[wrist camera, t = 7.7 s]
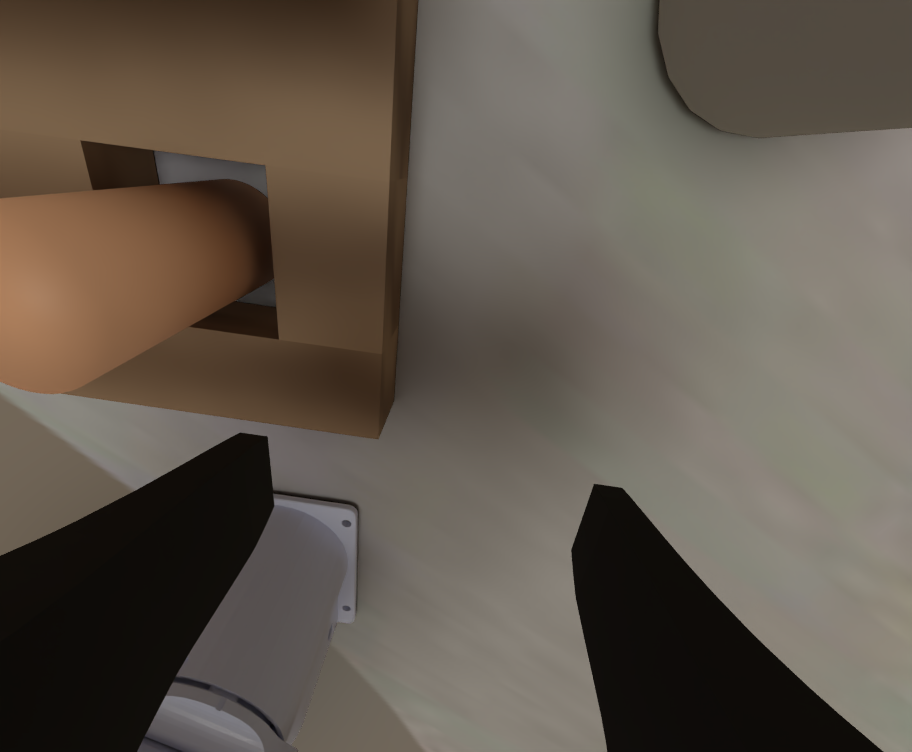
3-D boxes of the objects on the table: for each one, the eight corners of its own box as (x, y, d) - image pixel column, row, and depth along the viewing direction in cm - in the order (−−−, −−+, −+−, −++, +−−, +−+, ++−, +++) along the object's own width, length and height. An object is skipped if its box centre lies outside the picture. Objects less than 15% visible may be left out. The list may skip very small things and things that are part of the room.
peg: (287, 295, 18) (118, 410, 10) (191, 274, 18) (-60, 372, 10) (289, 192, 16) (83, 229, 8) (182, 168, 16) (-137, 181, 8)
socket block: (393, 400, 20) (311, 603, 11) (114, 360, 20) (-194, 527, 11) (423, -90, 12) (234, -753, 3) (-25, -147, 12) (-1345, -915, 3)
